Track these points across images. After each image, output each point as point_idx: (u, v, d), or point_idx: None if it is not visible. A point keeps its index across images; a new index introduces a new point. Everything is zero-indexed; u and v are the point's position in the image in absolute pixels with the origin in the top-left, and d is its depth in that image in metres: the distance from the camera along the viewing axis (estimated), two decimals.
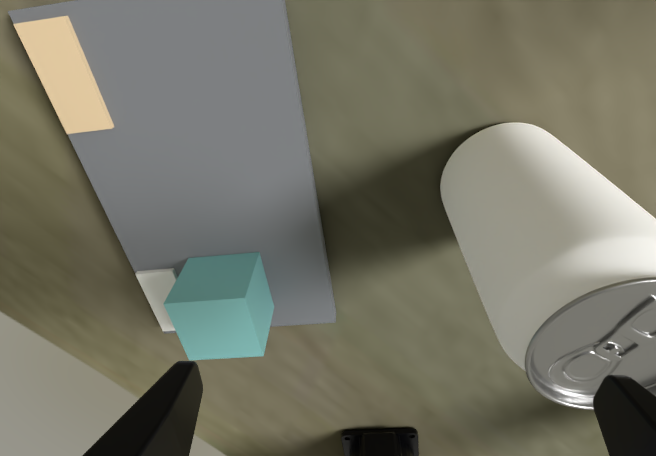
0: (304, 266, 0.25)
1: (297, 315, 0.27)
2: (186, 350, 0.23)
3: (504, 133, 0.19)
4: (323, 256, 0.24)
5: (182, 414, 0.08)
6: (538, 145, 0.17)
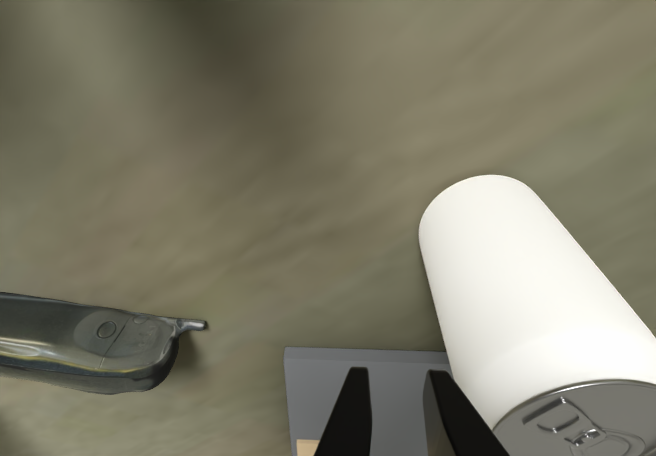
0: None
1: None
2: None
3: (421, 251, 0.21)
4: None
5: None
6: (429, 261, 0.19)
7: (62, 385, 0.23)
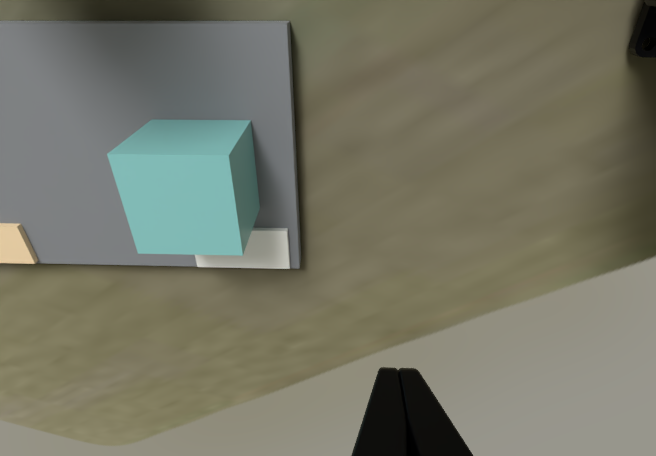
0: (171, 59, 0.17)
1: (269, 87, 0.17)
2: (223, 253, 0.17)
3: None
4: (148, 25, 0.16)
5: None
6: None
7: None
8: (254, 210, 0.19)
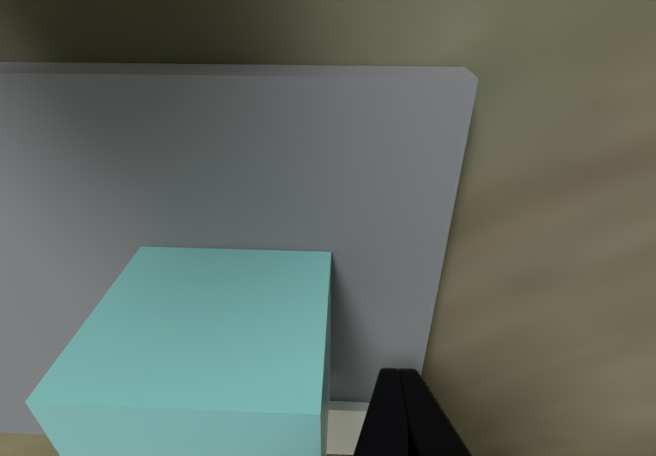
0: (217, 145, 0.08)
1: (413, 199, 0.08)
2: None
3: None
4: (173, 78, 0.07)
5: None
6: None
7: None
8: (328, 403, 0.10)
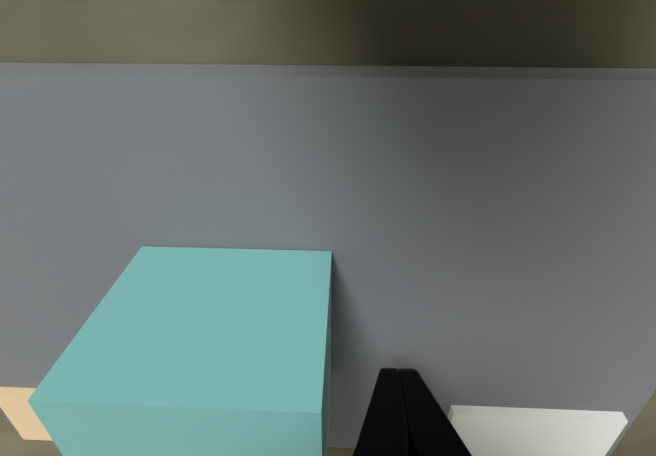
0: (555, 150, 0.08)
1: None
2: None
3: None
4: (540, 82, 0.07)
5: None
6: None
7: None
8: None
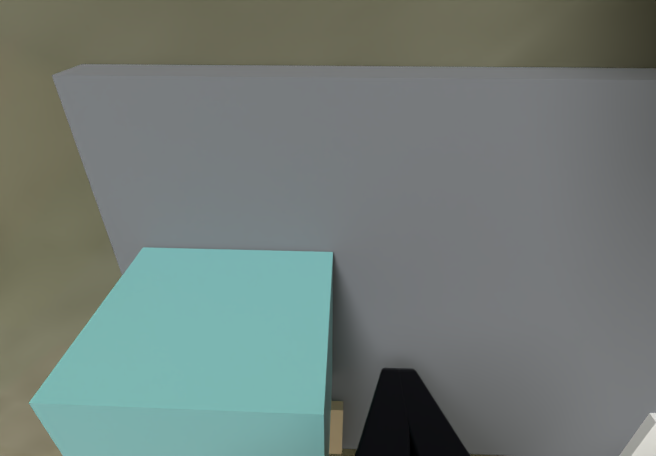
0: None
1: None
2: None
3: None
4: None
5: None
6: None
7: None
8: (330, 403, 0.10)
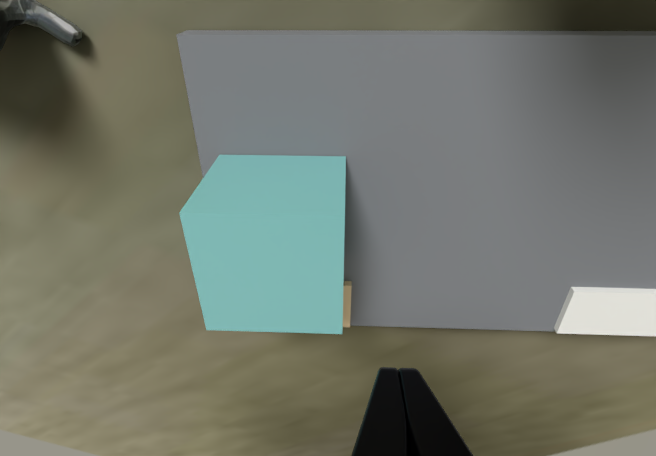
0: None
1: None
2: (316, 331, 0.13)
3: None
4: None
5: None
6: None
7: None
8: None
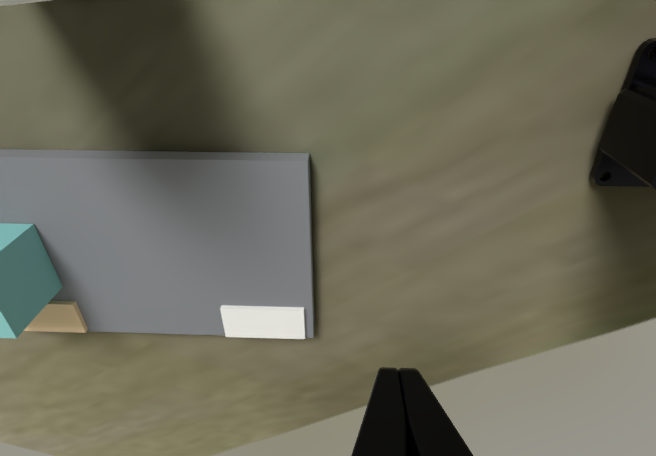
0: (211, 184, 0.20)
1: (292, 205, 0.21)
2: (0, 336, 0.21)
3: None
4: (194, 160, 0.20)
5: None
6: None
7: None
8: (46, 293, 0.23)
